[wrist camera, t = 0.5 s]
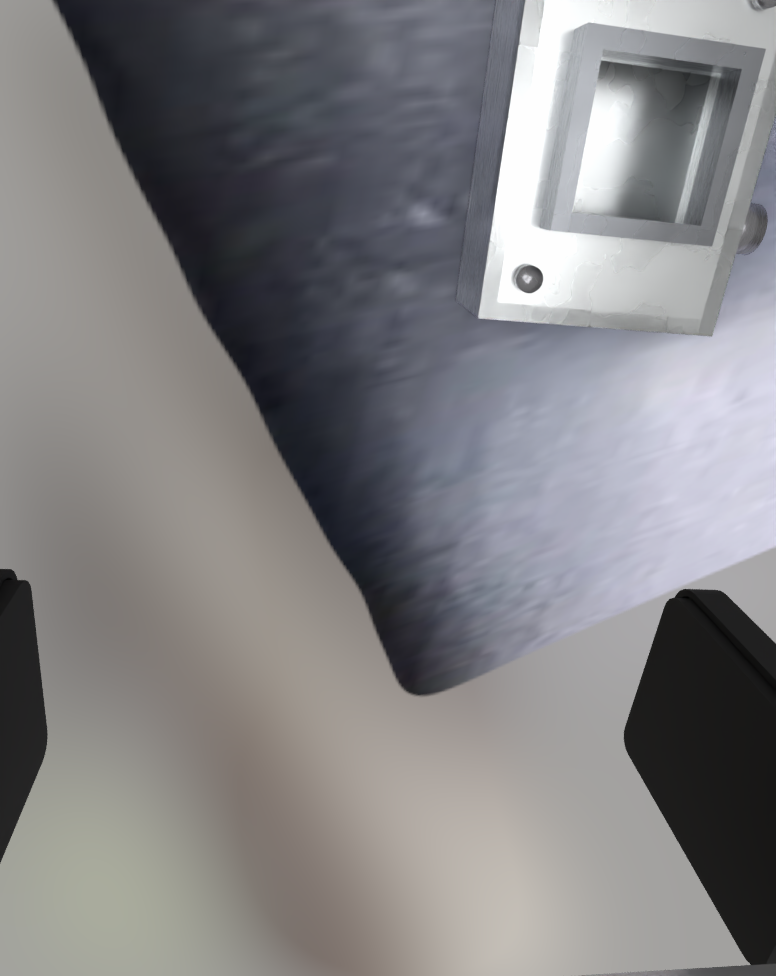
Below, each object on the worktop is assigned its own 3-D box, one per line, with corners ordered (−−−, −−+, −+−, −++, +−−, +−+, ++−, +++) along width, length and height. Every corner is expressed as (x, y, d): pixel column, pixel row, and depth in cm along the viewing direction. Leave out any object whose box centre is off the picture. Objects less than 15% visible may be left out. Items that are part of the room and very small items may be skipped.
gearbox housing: (505, -70, 31) (555, -126, 25) (789, -22, 33) (898, -63, 27) (455, 300, 37) (486, 324, 31) (696, 319, 39) (767, 346, 33)
